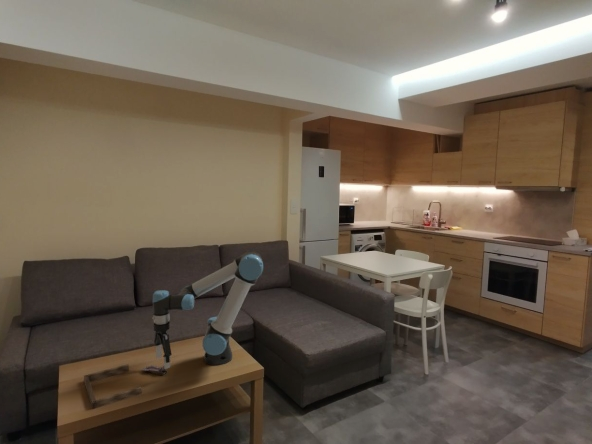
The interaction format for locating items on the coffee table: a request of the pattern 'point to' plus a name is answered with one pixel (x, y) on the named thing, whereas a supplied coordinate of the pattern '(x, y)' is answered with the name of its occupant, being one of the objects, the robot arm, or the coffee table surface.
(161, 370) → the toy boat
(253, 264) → the robot arm
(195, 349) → the coffee table surface
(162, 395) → the coffee table surface
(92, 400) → the frame
